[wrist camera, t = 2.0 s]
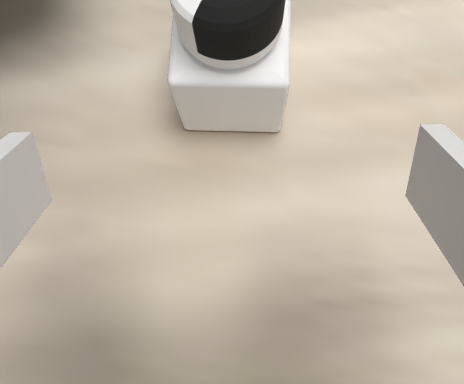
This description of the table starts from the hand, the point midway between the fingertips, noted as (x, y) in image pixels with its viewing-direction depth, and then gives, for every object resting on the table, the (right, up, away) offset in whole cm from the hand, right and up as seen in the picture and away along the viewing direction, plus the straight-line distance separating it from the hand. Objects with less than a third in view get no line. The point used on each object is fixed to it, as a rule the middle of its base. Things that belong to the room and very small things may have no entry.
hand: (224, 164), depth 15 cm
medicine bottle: (0, +7, +17) cm, 19 cm away
